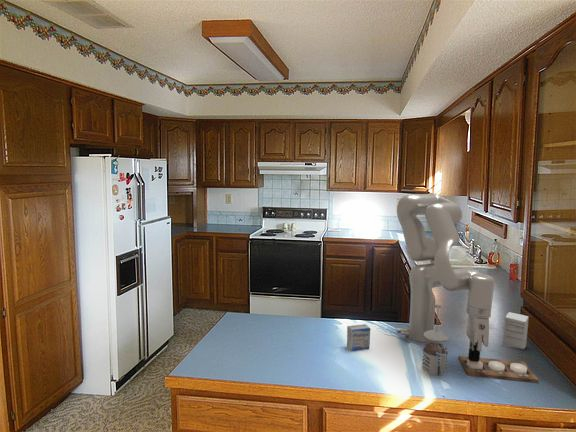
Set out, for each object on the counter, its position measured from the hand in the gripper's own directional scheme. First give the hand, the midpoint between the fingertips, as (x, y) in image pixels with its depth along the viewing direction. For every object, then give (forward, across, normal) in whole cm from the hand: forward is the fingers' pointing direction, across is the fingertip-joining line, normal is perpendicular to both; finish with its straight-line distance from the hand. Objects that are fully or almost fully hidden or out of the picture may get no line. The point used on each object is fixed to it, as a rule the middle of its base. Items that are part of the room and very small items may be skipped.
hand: (473, 360), depth 140 cm
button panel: (+4, -1, -7) cm, 8 cm away
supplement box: (+4, +23, -21) cm, 32 cm away
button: (+4, -1, -7) cm, 8 cm away
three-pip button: (+4, -1, 0) cm, 4 cm away
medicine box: (+5, +9, +40) cm, 41 cm away
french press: (+4, -6, +14) cm, 15 cm away
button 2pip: (+4, -1, -14) cm, 15 cm away
